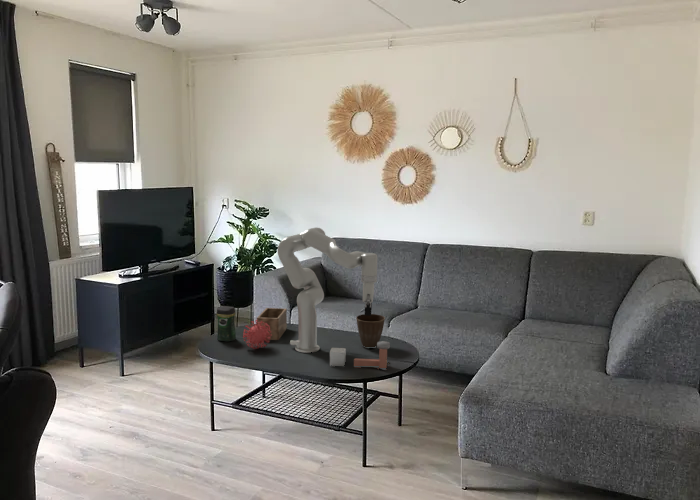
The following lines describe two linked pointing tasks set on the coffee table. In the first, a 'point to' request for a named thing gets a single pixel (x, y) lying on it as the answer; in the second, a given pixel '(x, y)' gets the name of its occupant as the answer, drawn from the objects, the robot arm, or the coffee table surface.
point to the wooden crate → (274, 321)
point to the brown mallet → (376, 362)
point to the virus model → (257, 334)
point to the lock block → (337, 356)
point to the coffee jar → (226, 323)
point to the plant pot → (370, 329)
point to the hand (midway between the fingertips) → (368, 312)
